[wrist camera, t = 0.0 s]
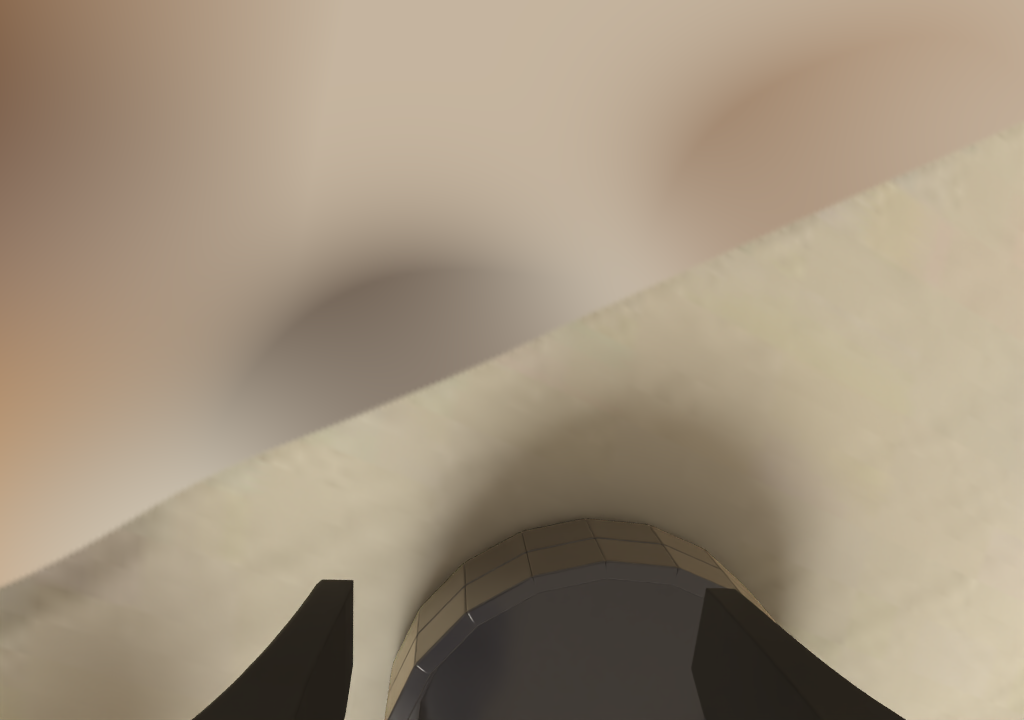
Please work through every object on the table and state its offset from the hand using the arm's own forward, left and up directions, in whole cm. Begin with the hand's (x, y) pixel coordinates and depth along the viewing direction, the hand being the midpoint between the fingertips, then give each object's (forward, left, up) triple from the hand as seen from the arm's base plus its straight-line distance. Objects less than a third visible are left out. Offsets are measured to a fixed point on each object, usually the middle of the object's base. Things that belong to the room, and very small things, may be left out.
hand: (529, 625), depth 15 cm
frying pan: (-4, -8, -11) cm, 14 cm away
